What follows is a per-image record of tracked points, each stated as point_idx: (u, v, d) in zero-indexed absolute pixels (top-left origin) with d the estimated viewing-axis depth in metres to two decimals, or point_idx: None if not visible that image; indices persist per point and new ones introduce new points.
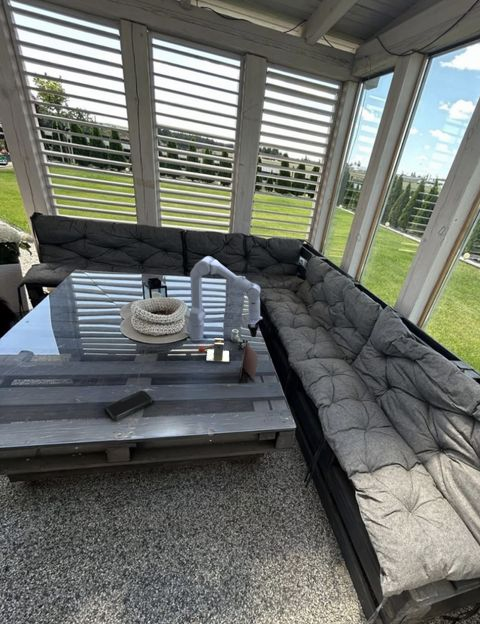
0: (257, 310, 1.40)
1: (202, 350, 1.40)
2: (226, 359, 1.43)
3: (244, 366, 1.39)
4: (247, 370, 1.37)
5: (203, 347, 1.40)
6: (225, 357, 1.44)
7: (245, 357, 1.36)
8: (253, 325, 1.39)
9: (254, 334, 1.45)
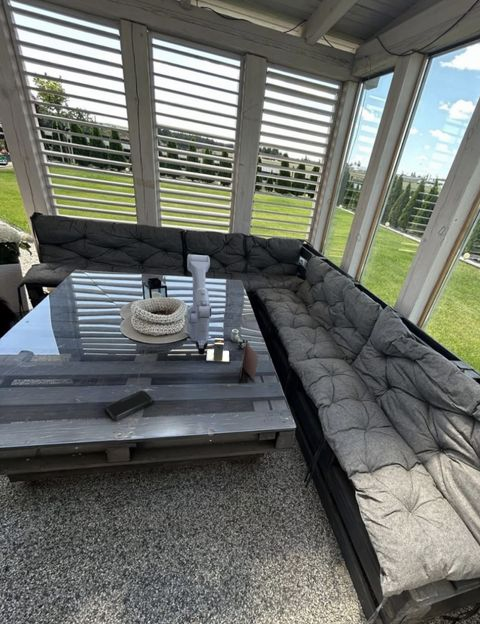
0: (198, 330, 1.32)
1: None
2: (226, 359, 1.43)
3: (244, 366, 1.39)
4: (247, 370, 1.37)
5: None
6: (225, 357, 1.44)
7: (245, 357, 1.36)
8: (202, 346, 1.31)
9: (202, 352, 1.39)
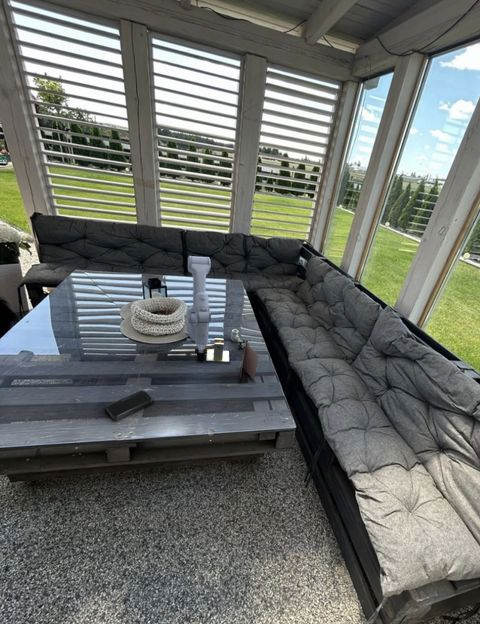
0: (198, 334, 1.33)
1: None
2: (226, 359, 1.43)
3: (244, 366, 1.39)
4: (247, 370, 1.37)
5: None
6: (225, 357, 1.44)
7: (245, 357, 1.36)
8: (201, 351, 1.33)
9: (201, 358, 1.39)
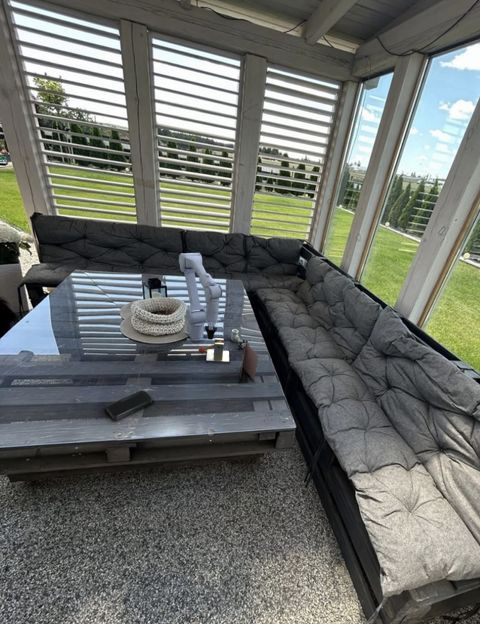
0: (210, 312, 1.31)
1: (202, 350, 1.40)
2: (226, 359, 1.43)
3: (244, 366, 1.39)
4: (247, 370, 1.37)
5: (203, 347, 1.40)
6: (225, 357, 1.44)
7: (245, 357, 1.36)
8: (211, 327, 1.31)
9: (211, 336, 1.37)
